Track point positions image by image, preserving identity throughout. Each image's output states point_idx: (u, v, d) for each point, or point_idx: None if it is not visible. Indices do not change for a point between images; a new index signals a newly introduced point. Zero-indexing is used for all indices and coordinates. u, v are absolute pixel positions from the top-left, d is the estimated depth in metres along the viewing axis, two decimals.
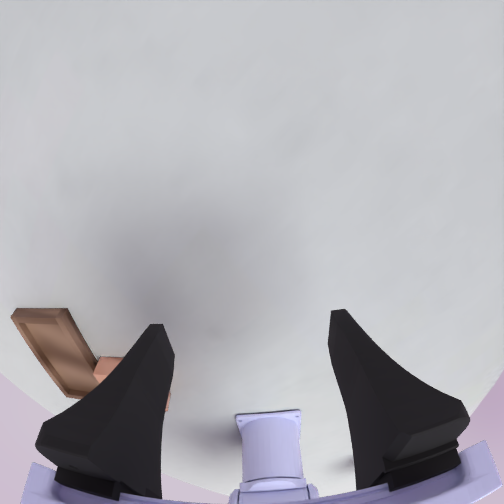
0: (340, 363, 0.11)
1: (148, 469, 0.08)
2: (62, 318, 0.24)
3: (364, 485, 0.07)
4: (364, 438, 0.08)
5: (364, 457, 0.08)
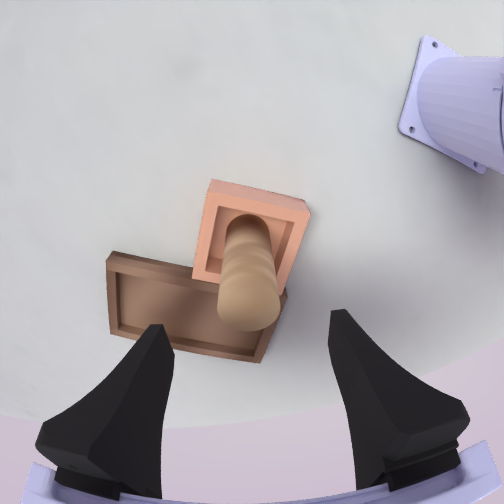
0: (340, 363, 0.11)
1: (148, 469, 0.08)
2: (108, 260, 0.21)
3: (364, 485, 0.07)
4: (364, 438, 0.08)
5: (364, 457, 0.08)
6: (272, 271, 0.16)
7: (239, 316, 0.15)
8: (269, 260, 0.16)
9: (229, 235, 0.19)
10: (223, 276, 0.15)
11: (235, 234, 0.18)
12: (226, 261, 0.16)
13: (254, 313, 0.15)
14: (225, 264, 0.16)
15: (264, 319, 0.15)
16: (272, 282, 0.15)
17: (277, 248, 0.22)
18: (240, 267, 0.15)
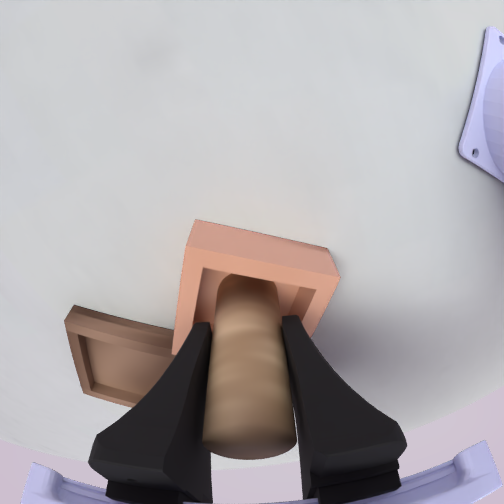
0: (288, 370, 0.11)
1: (203, 474, 0.08)
2: (67, 320, 0.15)
3: (305, 496, 0.07)
4: (302, 449, 0.08)
5: (303, 468, 0.08)
6: (285, 383, 0.10)
7: (235, 449, 0.08)
8: (280, 361, 0.10)
9: (220, 307, 0.13)
10: (210, 393, 0.09)
11: (229, 309, 0.12)
12: (215, 363, 0.10)
13: (257, 447, 0.08)
14: (213, 368, 0.10)
15: (272, 451, 0.09)
16: (286, 409, 0.08)
17: (288, 312, 0.16)
18: (235, 385, 0.09)
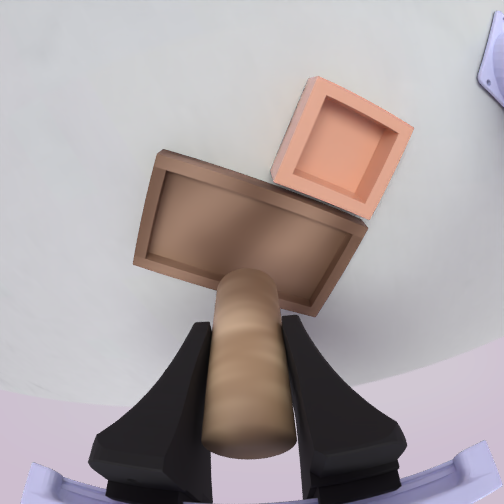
0: (288, 370, 0.11)
1: (203, 474, 0.08)
2: (160, 154, 0.17)
3: (305, 496, 0.07)
4: (302, 449, 0.08)
5: (303, 468, 0.08)
6: (286, 383, 0.09)
7: (234, 449, 0.08)
8: (281, 361, 0.10)
9: (221, 305, 0.13)
10: (211, 391, 0.09)
11: (230, 307, 0.12)
12: (216, 361, 0.10)
13: (257, 447, 0.08)
14: (214, 366, 0.10)
15: (271, 451, 0.09)
16: (287, 409, 0.08)
17: (365, 169, 0.18)
18: (237, 384, 0.09)
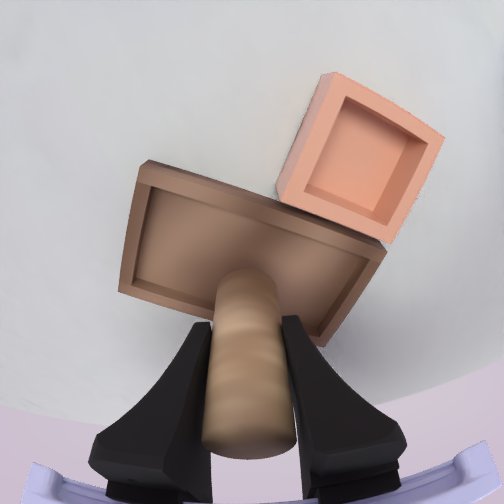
0: (288, 370, 0.11)
1: (203, 474, 0.08)
2: (144, 166, 0.14)
3: (305, 496, 0.07)
4: (302, 449, 0.08)
5: (303, 468, 0.08)
6: (286, 383, 0.09)
7: (234, 449, 0.08)
8: (282, 361, 0.10)
9: (221, 305, 0.13)
10: (211, 391, 0.09)
11: (230, 307, 0.12)
12: (216, 361, 0.10)
13: (257, 447, 0.08)
14: (214, 366, 0.10)
15: (271, 451, 0.09)
16: (287, 409, 0.08)
17: (386, 183, 0.15)
18: (237, 384, 0.09)
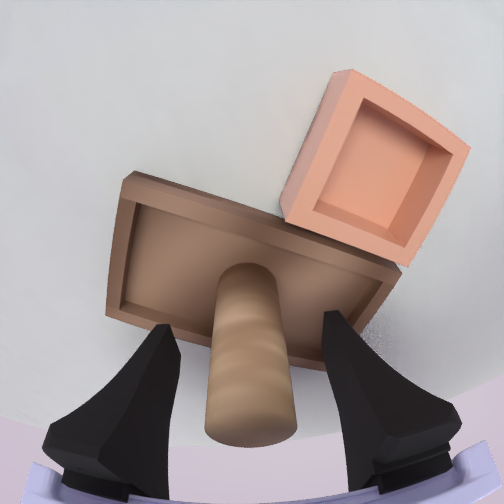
0: (332, 364, 0.11)
1: (156, 470, 0.08)
2: (127, 180, 0.12)
3: (356, 487, 0.07)
4: (355, 440, 0.08)
5: (355, 459, 0.08)
6: (286, 371, 0.10)
7: (236, 436, 0.09)
8: (281, 351, 0.11)
9: (222, 298, 0.13)
10: (213, 379, 0.09)
11: (231, 299, 0.13)
12: (218, 350, 0.10)
13: (258, 434, 0.09)
14: (216, 355, 0.10)
15: (272, 439, 0.09)
16: (287, 396, 0.09)
17: (403, 197, 0.13)
18: (239, 371, 0.09)
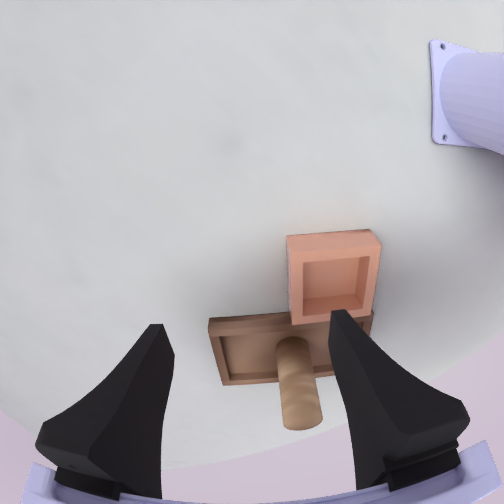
0: (340, 363, 0.11)
1: (148, 469, 0.08)
2: (209, 329, 0.25)
3: (364, 485, 0.07)
4: (364, 438, 0.08)
5: (364, 457, 0.08)
6: (312, 392, 0.21)
7: (299, 425, 0.20)
8: (309, 383, 0.22)
9: (278, 362, 0.25)
10: (282, 405, 0.21)
11: (282, 363, 0.24)
12: (281, 391, 0.22)
13: (307, 422, 0.20)
14: (281, 393, 0.22)
15: (315, 422, 0.20)
16: (313, 404, 0.20)
17: (356, 276, 0.23)
18: (290, 399, 0.21)
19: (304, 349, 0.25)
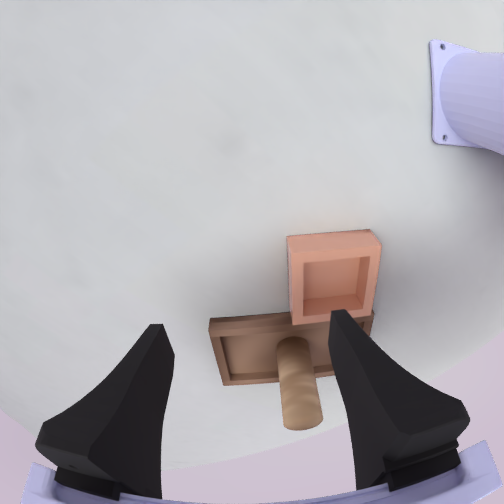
0: (340, 363, 0.11)
1: (148, 469, 0.08)
2: (210, 329, 0.25)
3: (364, 485, 0.07)
4: (364, 438, 0.08)
5: (364, 457, 0.08)
6: (313, 392, 0.21)
7: (299, 425, 0.20)
8: (309, 383, 0.22)
9: (279, 362, 0.25)
10: (282, 405, 0.21)
11: (282, 363, 0.24)
12: (282, 391, 0.22)
13: (307, 422, 0.20)
14: (282, 393, 0.22)
15: (315, 423, 0.20)
16: (313, 404, 0.20)
17: (357, 276, 0.23)
18: (291, 399, 0.21)
19: (304, 349, 0.25)
